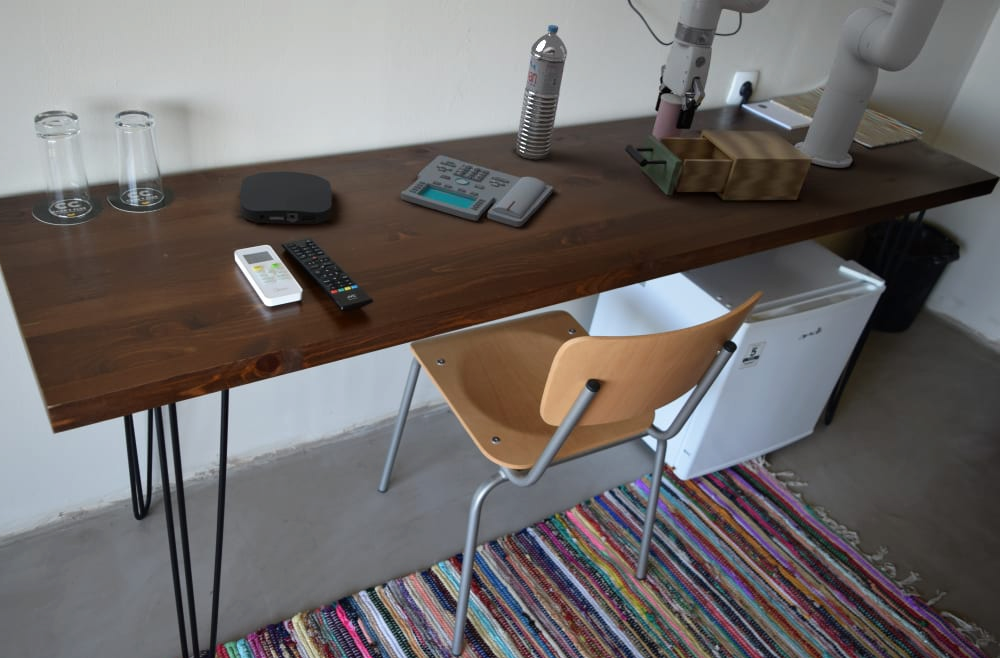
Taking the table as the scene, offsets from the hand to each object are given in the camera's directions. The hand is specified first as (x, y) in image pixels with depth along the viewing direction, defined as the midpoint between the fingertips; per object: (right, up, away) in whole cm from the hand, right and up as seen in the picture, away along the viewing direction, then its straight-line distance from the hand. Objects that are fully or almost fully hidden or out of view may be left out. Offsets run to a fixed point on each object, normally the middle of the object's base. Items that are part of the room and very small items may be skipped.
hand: (672, 119), depth 168 cm
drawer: (-2, -15, -9) cm, 17 cm away
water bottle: (-30, -8, -3) cm, 31 cm away
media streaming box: (-73, -24, -33) cm, 84 cm away
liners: (-1, -6, +4) cm, 8 cm away
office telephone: (-41, -21, -22) cm, 51 cm away
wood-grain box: (+13, -15, -4) cm, 20 cm away
